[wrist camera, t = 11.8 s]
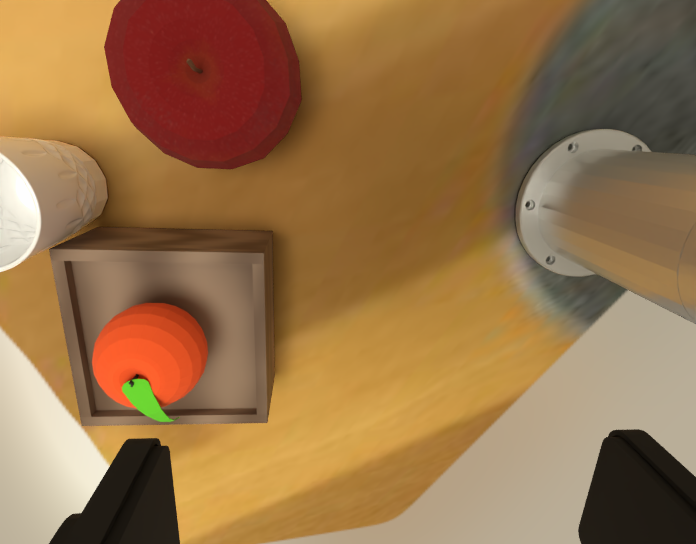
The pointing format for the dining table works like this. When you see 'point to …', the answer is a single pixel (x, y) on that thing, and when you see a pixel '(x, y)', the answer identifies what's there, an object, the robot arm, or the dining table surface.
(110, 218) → the dining table surface
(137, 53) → the apple
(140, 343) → the clementine
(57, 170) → the white cup
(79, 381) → the walnut stand
